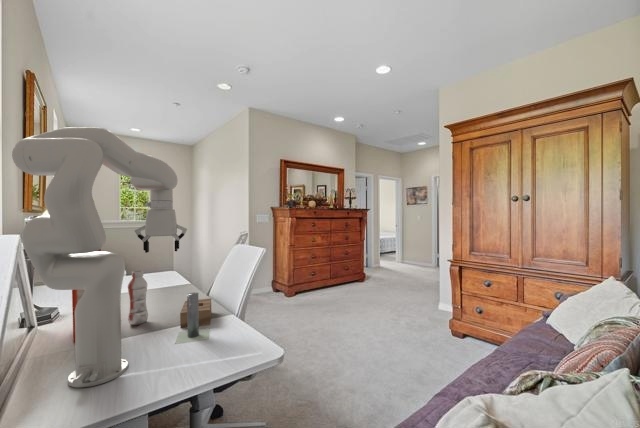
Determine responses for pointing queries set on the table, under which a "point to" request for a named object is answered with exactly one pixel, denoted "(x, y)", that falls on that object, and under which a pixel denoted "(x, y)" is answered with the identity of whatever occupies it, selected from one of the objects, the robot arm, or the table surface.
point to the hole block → (203, 313)
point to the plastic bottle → (137, 299)
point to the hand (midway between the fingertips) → (161, 251)
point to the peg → (192, 315)
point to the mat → (184, 338)
